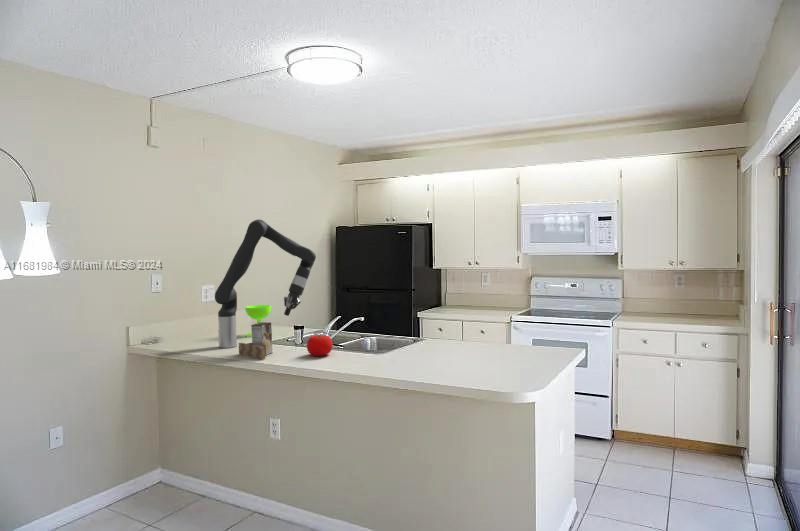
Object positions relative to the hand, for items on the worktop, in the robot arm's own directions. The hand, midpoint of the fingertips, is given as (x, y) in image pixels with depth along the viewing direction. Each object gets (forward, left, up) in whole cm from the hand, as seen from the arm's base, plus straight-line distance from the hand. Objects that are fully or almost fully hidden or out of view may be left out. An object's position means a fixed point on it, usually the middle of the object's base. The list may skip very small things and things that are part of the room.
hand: (286, 315), depth 304 cm
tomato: (+28, 0, -18) cm, 34 cm away
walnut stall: (+3, -22, -18) cm, 29 cm away
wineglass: (-53, +17, -18) cm, 58 cm away
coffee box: (+3, -17, -18) cm, 25 cm away
